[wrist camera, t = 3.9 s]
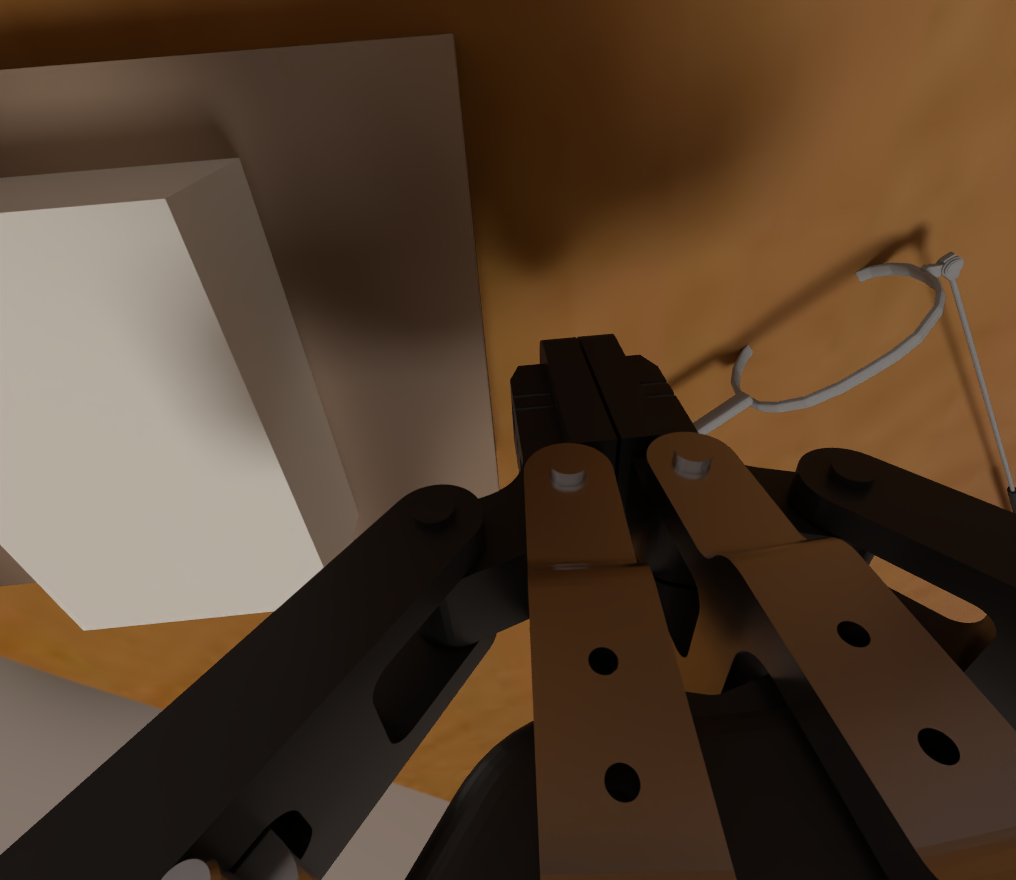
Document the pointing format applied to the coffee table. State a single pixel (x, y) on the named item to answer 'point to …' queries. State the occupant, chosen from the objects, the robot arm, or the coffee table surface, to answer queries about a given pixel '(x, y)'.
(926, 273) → the eyeglasses
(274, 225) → the brown flat block
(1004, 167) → the coffee table surface
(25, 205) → the cream rectangular block
